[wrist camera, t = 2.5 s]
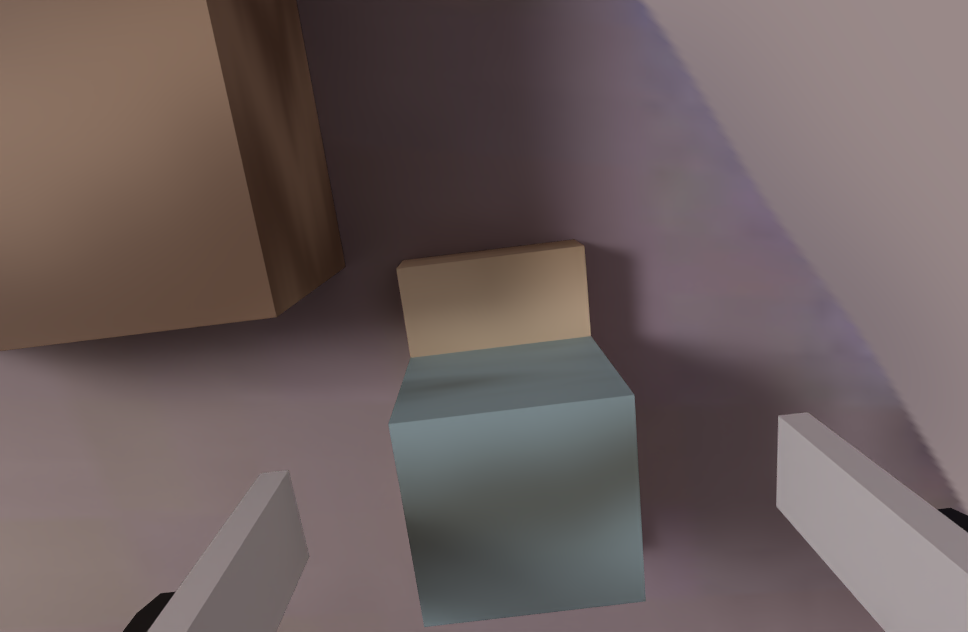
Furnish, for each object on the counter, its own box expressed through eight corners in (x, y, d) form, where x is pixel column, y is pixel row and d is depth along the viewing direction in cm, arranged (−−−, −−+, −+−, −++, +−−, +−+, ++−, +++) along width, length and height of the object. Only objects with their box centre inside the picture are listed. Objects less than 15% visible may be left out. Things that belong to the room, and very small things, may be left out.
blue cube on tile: (596, 533, 22) (650, 689, 16) (449, 550, 22) (439, 713, 16) (573, 238, 19) (627, 273, 13) (403, 259, 19) (367, 305, 13)
